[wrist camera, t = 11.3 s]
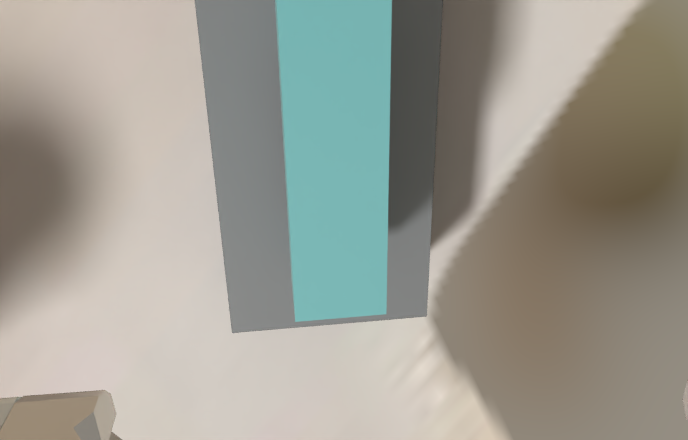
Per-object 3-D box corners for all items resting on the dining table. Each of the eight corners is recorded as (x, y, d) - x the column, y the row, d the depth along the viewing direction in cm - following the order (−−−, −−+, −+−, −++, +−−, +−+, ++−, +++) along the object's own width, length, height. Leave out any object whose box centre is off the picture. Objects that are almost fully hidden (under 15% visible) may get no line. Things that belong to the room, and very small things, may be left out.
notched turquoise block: (271, -20, 21) (275, -9, 15) (353, -22, 22) (392, -12, 15) (287, 230, 25) (295, 321, 19) (355, 225, 26) (386, 314, 19)
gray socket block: (194, -113, 21) (180, -127, 17) (417, -114, 22) (449, -128, 18) (236, 282, 27) (231, 333, 24) (405, 269, 28) (426, 316, 25)
